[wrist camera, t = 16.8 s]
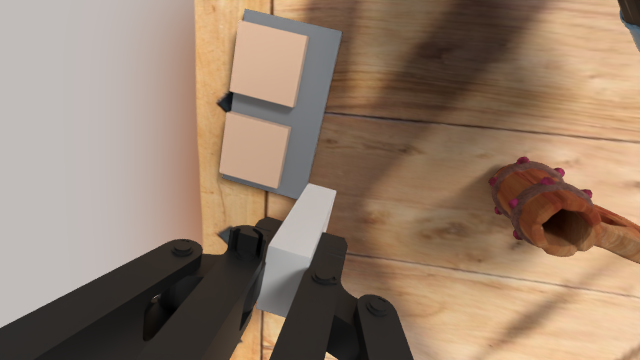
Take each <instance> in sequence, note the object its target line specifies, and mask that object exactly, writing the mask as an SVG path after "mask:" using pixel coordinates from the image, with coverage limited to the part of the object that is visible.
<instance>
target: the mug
mask: <svg viewBox="0 0 640 360" xmlns="http://www.w3.org/2000/svg"><path fill="white" fill-rule="evenodd" d="M564 174H565V172H564V170H563V169H562V168H555V169H552V168H550V167H549V166H547V165H544V164H542V163H538V162H533V161H529V159H528V158H527V157H520V158H519V159H518V160H517V162H516V163H514V164H509V165H507V166H505V167H503V168H502V169H500V170H499V171H498V172H497V173H496V175H495V176H494V177H492V178H491V179H490V180H489V184H490V185H491V186H492V197H493V200H494V202H495V204H496V207H495V213H496V214H499V215H501V214H504V215H505V216H506V217H508V218H510V219H511V221H512V224H513V226H514V228H515V230H514V232H513V236H514V237H515V238H516V239H518V240H523V239H524V240H526V241H527V242H528V243H530V244H532V245H535V246H537V247H539V248H542V249H543V250H544V251H545V252H546V253H547V254H550V255H554V256H559V257H569V256H572V255H574V253H575V252H576V251H587V250H588V249H590V248H591V247H593V245H594V246H597V247H600V248H604V249H606V250H609V251H611V252H613V253H615V254H617V255H619V256H621V257H623V258H626V259H628V260H631V261H633V262H636V263H639V264H640V226H638V225H636V224H635V223H633V222H631V221H629V220H627V219H626V218H624V217H621V216H619V215H617V214H615V213H613V212H611V211H608V210H606V209H604V208H602V207H600V206H597V205H594V204H593V203H592V201H591V199H590V198H592V192H591V191H590V190H587V189H584V190H579V189H577V188H576V187H574V186H572V185H570V184H567V183H564V180H563V178H562V177H563V176H564Z"/></svg>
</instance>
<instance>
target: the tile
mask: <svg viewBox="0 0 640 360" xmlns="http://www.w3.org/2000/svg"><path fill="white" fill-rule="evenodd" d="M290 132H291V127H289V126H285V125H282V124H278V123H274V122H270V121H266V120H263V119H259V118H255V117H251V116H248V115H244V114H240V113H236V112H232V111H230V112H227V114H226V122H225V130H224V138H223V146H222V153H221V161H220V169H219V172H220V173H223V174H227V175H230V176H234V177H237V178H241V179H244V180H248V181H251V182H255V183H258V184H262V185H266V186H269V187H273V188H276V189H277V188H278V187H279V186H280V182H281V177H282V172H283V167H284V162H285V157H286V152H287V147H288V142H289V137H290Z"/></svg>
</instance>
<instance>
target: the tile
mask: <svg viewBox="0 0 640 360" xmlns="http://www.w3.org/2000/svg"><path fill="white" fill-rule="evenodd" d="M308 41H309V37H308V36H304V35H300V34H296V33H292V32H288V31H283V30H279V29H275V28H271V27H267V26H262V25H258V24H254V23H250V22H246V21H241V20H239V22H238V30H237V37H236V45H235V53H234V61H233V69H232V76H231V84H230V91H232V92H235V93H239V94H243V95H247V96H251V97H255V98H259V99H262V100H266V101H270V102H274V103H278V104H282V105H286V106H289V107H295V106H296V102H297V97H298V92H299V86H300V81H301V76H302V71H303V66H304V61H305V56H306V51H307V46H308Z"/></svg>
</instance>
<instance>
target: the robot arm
mask: <svg viewBox="0 0 640 360" xmlns="http://www.w3.org/2000/svg"><path fill="white" fill-rule="evenodd" d="M617 1H618V3H619V6H620V19H621V21H622V23H624V25H625V27H627V28H628V29H629V31H630V33H631V35H632V37H633V40H634V42H635V44H636V46H637V49H638V50H639V52H640V0H617ZM335 195H336V191H335V190H332V189H328V188H324V187H321V186H317V185H314V184H310V183H308V185H307V186H306V188H305V189H304V191H303V192H302V194H301V196H300V197H299V199H298V200H297V202H296V203H295V205H294V206H293V208H292V210H291V211H290V213H289V214H288V216H287V217H286V219H285V220H284V221H280V220H277V219H274V218H270V217H266V218H264V219H261V220H259V221H258V223H257V224H256V225H255V227H254V226H249V225H240V226H236V227H234V228H232V229H231V230H230V235H229V242H228V248H227V251H226V252H225V253H224V254H222V255H212V254H202V251H203V249H202V247H201V245H200V244H198V243H197V242H195V241H192V240H188V239H177V240H172V241H170V242H167V243H165V244H163V245H161V246H159V247H158V248H156V249H154V250H151V251H150V252H148V253H146V254H144V255H142V256H140V257H138V258H136V259H134V260H132V261H130V262H128V263H126V264H124V265H122V266H120V267H118V268H116V269H114V270H113V271H111V272H109V273H107V274H105V275H103V276H101V277H99V278H97V279H95V280H93V281H91V282H89V283H88V284H85V285H83V286H81V287H79V288H77V289H76V290H74V291H72V292H70V293H68V294H66V295H64V296H62V297H60V298H58V299H56V300H54V301H52V302H50V303H48V304H46V305H45V306H42V307H40V308H39V309H37V310H35V311H33V312H31V313H29V314H27V315H25V316H23V317H21V318H19V319H17V320H15V321H13V322H11V323H9V324H7V325H5V326H3V327H2V328H0V360H229V359H230V357H231V356H232V354H233V352H234V350H235V348H236V346H237V344H238V342H239V340H240V338H241V336H242V335H243V333H244V331H245V329H246V327H247V325H248V323H249V321H250V319H251V316H252V312H253V307H254V305H255V303H256V301H257V299H258V301H257V306H256V308H257V309H260V310H263V311H266V312H270V313H273V314H276V315H279V316H282V317H285V318H286V319H285V322H284V324H283V327H282V329H281V332H280V334H279V337H278V339H277V342H276V344H275V347H274V349H273V352H272V354H271V357H270V359H269V360H324V359H325V354H326V352H328V353H329V354H331V355H332V356H334V357H335V358H337V359H338V360H414V359H413V356H412V354H411V351H410V348H409V345H408V342H407V339H406V337H405V334H404V331H403V328H402V325H401V323H400V320H399V317H398V314H397V311H396V310H395V308H394V306H393V305H392V304H391V303H390V302H389V301H388V300H386V299H384V298H382V297H380V296H376V295H367V294H366V295H363V296H361V297H360V298H359V299H357V298H355V297H354V296H352V295H351V294H349V293H348V292H347V291H346V290H345V289H344V288H343V286H342V284H341V274H342V270H343V265H344V260H345V255H346V251H347V246H348V245H347V243H346V241H345V239H344V238H342V237H338V236H335V235H332V234H328V233H326V229H327V226H328V222H329V218H330V214H331V210H332V207H333V203H334V199H335ZM157 295H158V296H157ZM155 296H157V297H155ZM154 297H155V298H154ZM153 298H154V299H153Z"/></svg>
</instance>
